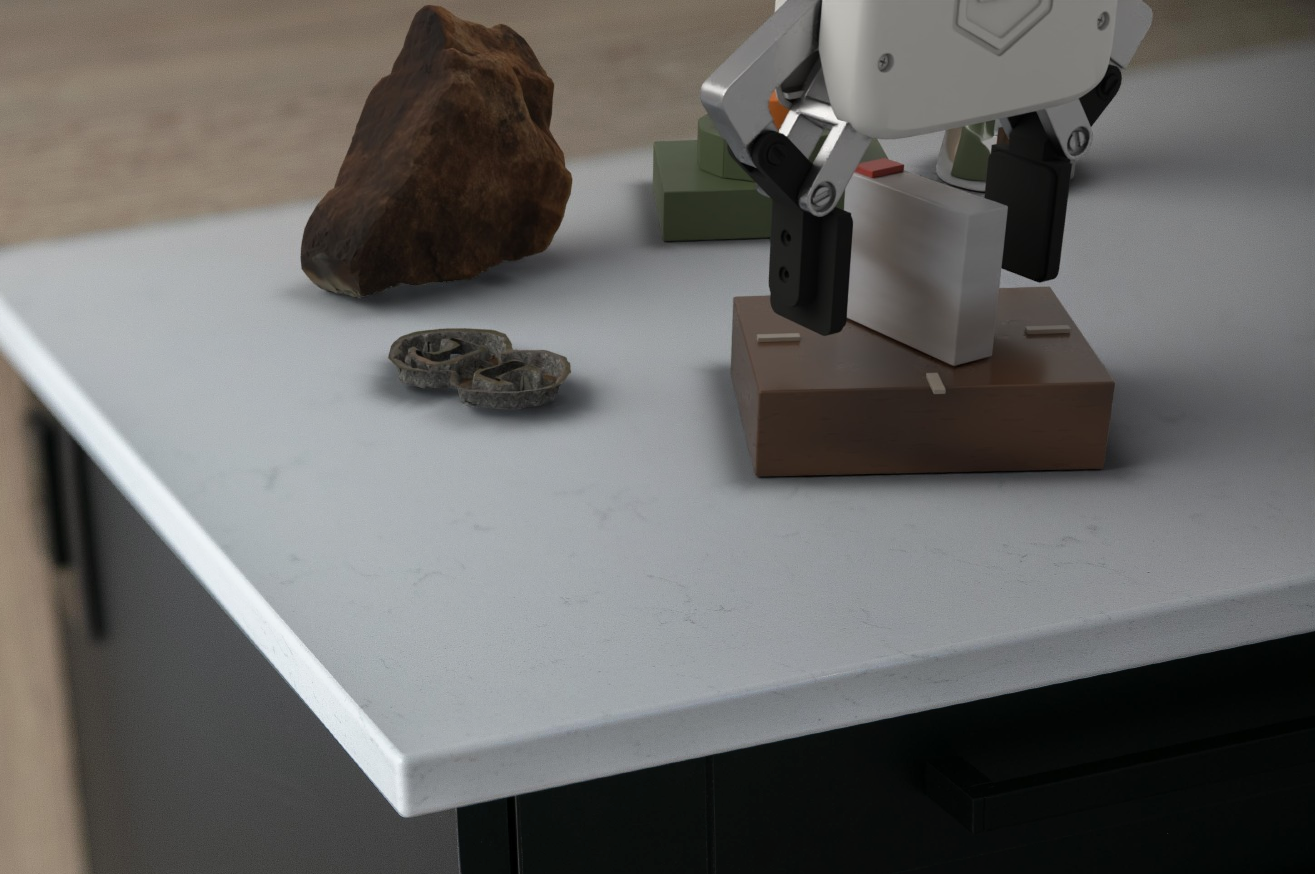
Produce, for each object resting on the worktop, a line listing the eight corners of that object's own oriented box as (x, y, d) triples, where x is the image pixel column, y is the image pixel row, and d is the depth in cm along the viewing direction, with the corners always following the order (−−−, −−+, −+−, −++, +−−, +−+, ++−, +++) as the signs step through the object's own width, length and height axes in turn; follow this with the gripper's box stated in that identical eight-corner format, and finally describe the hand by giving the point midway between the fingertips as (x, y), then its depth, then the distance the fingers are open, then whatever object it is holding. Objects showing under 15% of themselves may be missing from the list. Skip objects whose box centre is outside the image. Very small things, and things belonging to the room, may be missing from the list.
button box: (870, 179, 92) (877, 92, 90) (899, 233, 85) (906, 140, 83) (652, 188, 93) (653, 102, 91) (662, 241, 86) (664, 150, 84)
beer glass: (920, 194, 89) (950, -162, 82) (930, 151, 95) (959, -186, 88) (1084, 199, 87) (1130, -166, 80) (1084, 155, 93) (1128, -190, 86)
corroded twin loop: (501, 433, 69) (500, 405, 68) (357, 374, 74) (355, 348, 74) (605, 392, 71) (605, 365, 71) (458, 338, 77) (457, 313, 76)
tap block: (1037, 359, 72) (1047, 275, 70) (1109, 477, 63) (1122, 384, 61) (728, 368, 73) (731, 285, 71) (756, 485, 64) (761, 394, 63)
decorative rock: (517, 228, 89) (513, -22, 84) (599, 261, 84) (600, -1, 79) (284, 286, 84) (264, 26, 79) (358, 325, 79) (342, 51, 74)
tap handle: (992, 356, 64) (1009, 198, 62) (953, 367, 64) (968, 207, 61) (873, 304, 69) (885, 155, 66) (836, 313, 69) (845, 164, 66)
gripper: (795, -246, 51) (764, 387, 60) (1292, -308, 57) (1199, 276, 66) (636, -262, 57) (629, 316, 66) (1101, -316, 63) (1038, 220, 72)
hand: (914, 293), depth 66 cm, fingers open, 8 cm apart
